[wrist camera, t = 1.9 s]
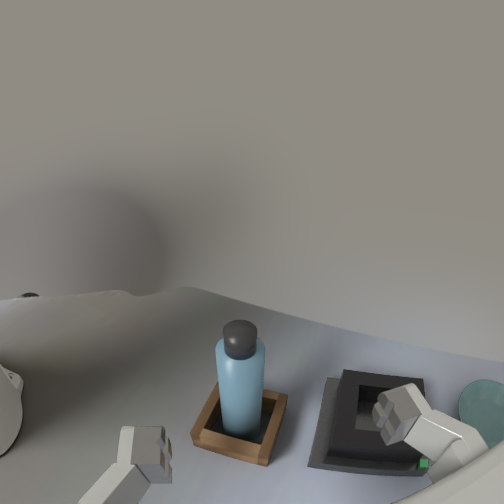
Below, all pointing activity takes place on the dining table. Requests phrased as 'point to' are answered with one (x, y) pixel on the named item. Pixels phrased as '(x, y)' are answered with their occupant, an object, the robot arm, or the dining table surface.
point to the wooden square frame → (234, 446)
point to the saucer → (484, 410)
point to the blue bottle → (240, 379)
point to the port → (361, 429)
